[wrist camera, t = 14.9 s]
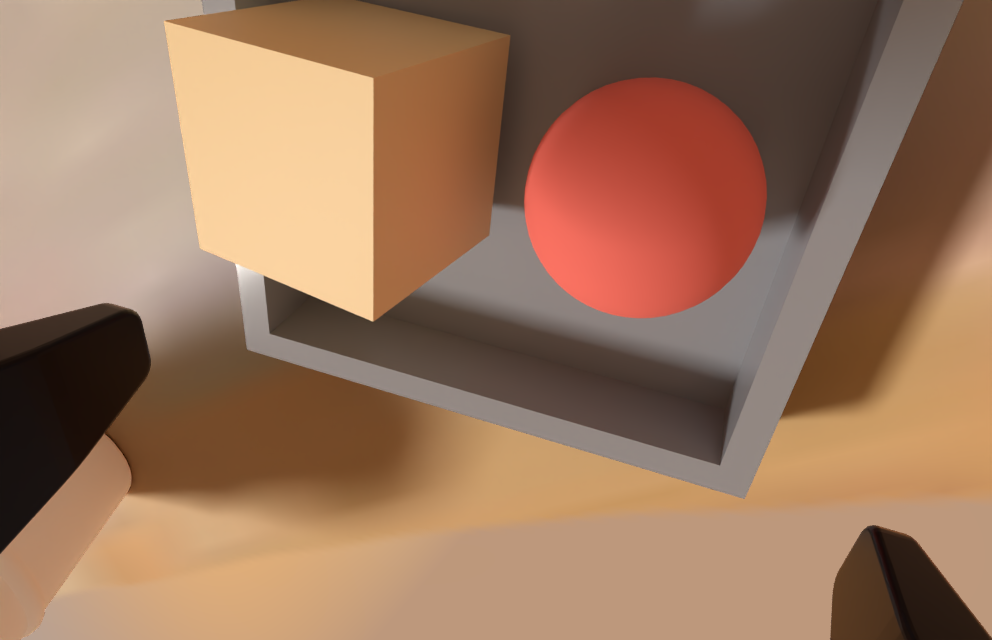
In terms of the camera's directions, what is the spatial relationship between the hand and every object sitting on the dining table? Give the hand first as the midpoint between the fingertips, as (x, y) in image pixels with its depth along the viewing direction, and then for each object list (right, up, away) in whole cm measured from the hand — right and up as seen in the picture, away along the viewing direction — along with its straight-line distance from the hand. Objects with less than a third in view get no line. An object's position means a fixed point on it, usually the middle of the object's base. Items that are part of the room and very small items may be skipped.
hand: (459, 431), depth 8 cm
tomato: (+3, +4, +5) cm, 8 cm away
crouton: (-1, +5, +6) cm, 8 cm away
